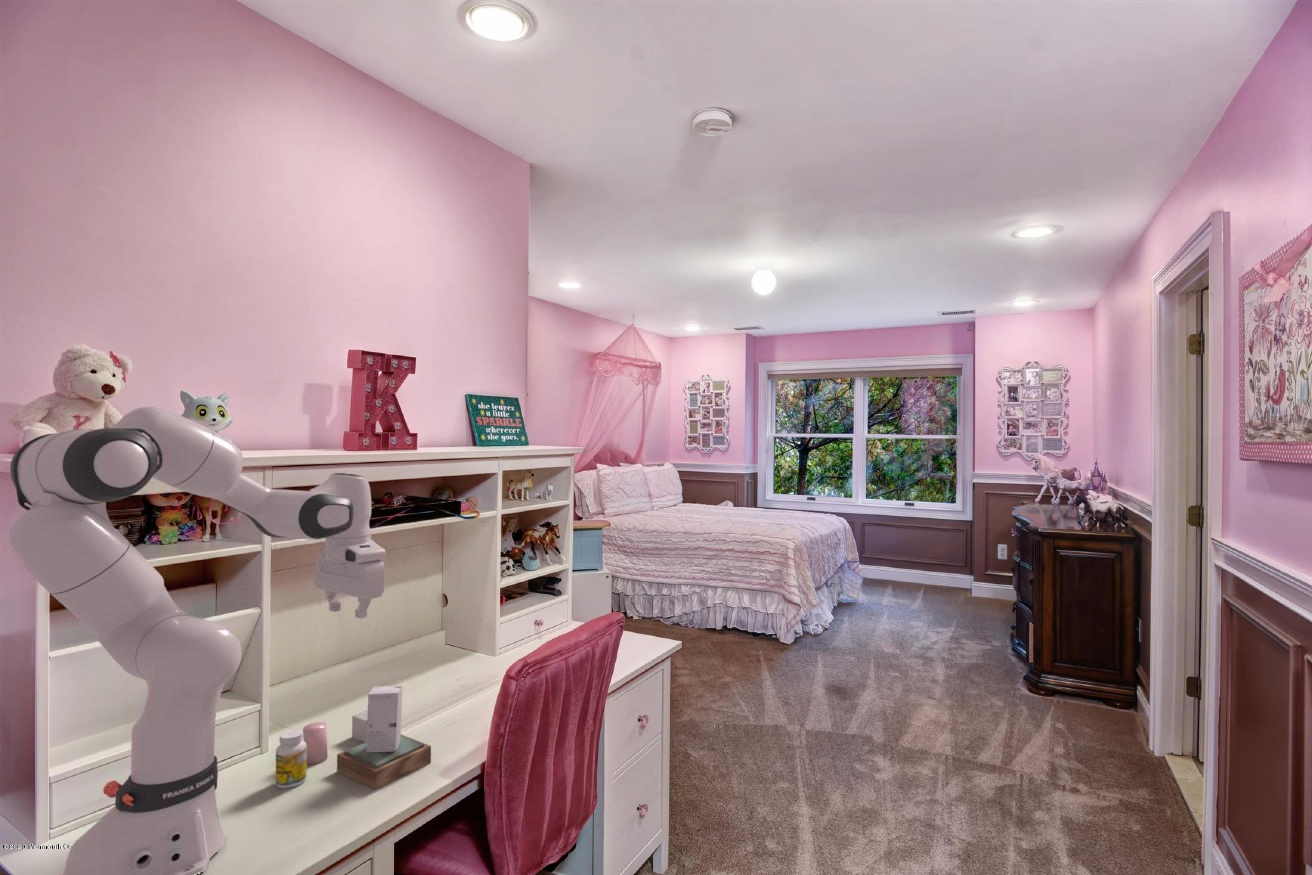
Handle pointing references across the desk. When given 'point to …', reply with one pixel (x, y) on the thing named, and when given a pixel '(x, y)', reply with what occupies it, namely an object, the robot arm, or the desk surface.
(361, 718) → the light gray block
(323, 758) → the pink pillar
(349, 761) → the tray
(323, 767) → the desk surface
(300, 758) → the supplement bottle
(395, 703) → the skincare box
